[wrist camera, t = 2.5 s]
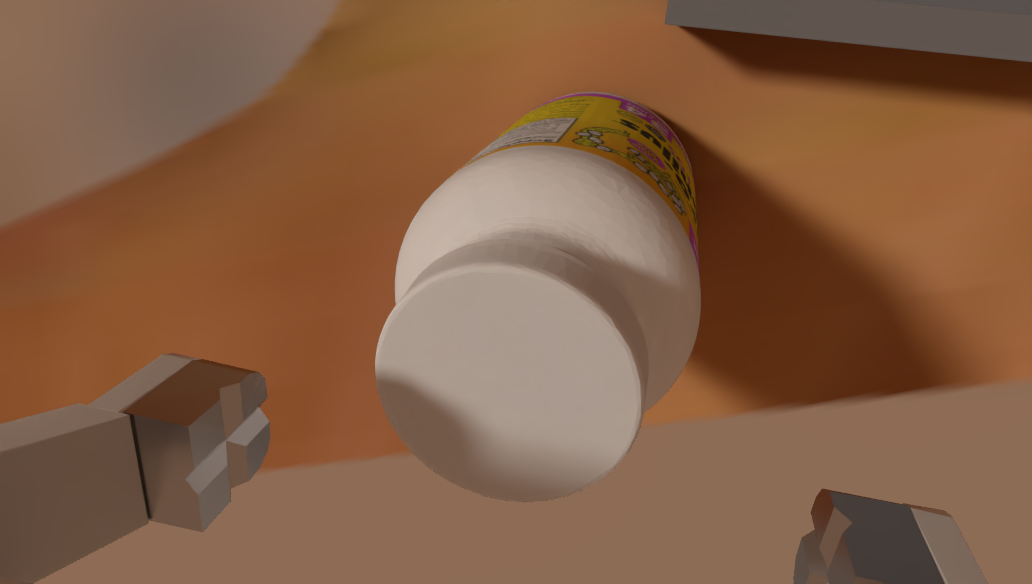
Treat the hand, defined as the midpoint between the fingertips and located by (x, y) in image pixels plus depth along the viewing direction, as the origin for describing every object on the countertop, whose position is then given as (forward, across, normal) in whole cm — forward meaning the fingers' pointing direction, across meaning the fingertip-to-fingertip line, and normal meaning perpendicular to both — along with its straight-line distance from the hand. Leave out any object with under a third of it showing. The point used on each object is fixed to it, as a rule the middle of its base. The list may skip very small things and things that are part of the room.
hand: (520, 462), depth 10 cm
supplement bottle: (+15, +1, 0) cm, 15 cm away
